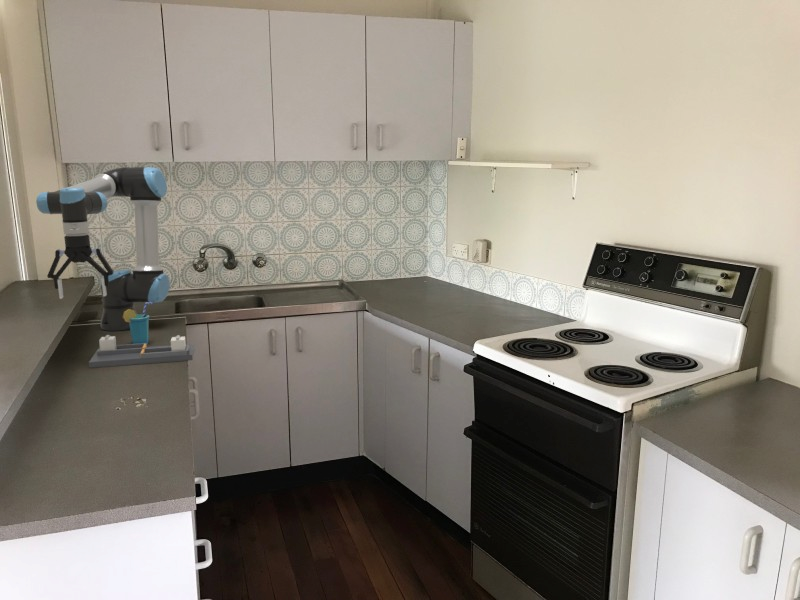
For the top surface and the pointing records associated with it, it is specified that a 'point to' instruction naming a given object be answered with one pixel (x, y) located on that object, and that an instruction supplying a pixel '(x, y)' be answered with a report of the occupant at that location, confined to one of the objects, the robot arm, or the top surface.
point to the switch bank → (139, 355)
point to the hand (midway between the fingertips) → (83, 296)
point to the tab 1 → (108, 343)
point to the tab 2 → (178, 343)
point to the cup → (138, 324)
